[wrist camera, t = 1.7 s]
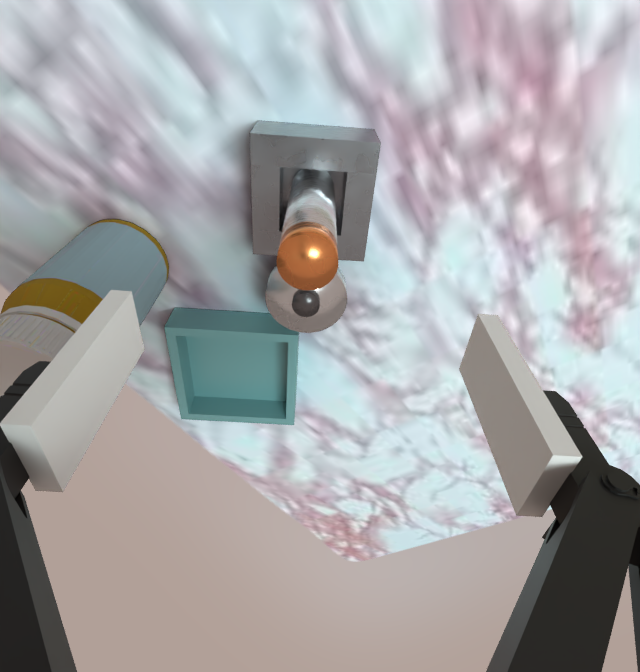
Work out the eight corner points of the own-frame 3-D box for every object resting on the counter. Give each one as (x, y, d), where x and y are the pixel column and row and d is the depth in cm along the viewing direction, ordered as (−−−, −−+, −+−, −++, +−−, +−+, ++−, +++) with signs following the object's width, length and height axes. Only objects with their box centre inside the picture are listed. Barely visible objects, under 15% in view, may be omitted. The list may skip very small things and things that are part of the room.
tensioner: (351, 304, 37) (354, 341, 32) (261, 298, 36) (252, 335, 32) (374, 129, 28) (383, 148, 24) (258, 120, 28) (246, 138, 24)
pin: (292, 164, 29) (276, 232, 20) (336, 167, 29) (341, 236, 20) (291, 207, 31) (276, 288, 21) (332, 210, 31) (335, 292, 21)
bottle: (187, 279, 35) (116, 412, 23) (118, 304, 37) (19, 440, 25) (137, 202, 32) (22, 313, 20) (63, 234, 33) (-87, 355, 21)
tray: (174, 307, 37) (164, 327, 35) (300, 315, 37) (298, 335, 35) (189, 397, 44) (181, 419, 41) (295, 403, 44) (293, 425, 42)
